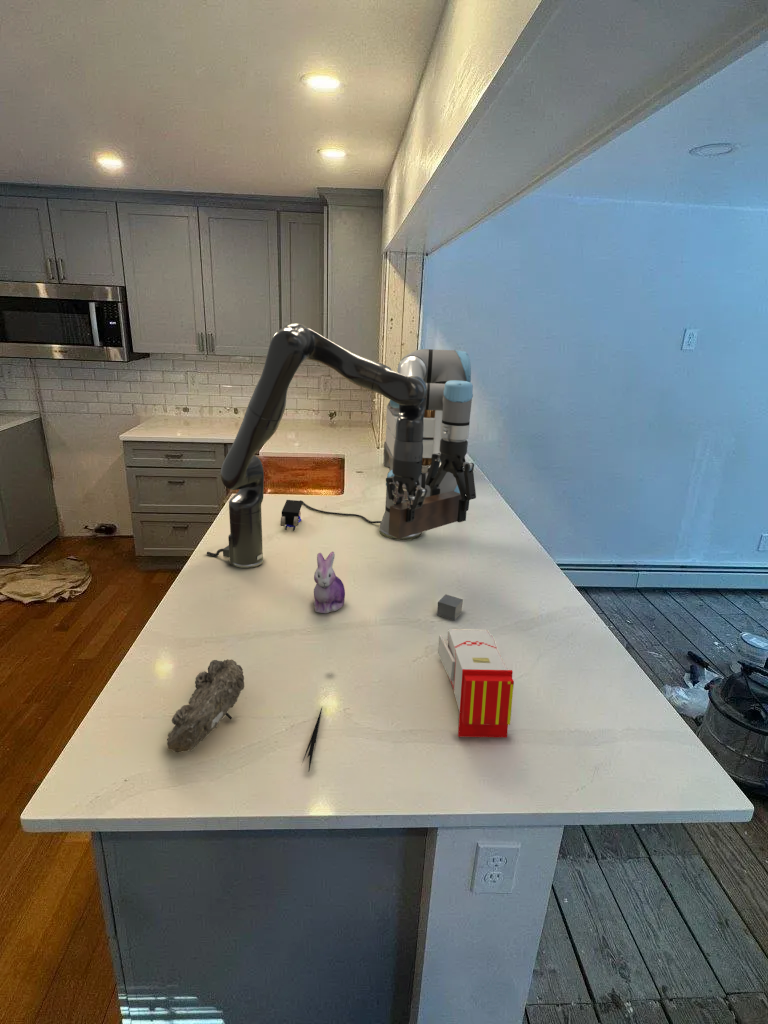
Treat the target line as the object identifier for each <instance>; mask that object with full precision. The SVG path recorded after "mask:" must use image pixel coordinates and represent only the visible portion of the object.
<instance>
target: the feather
mask: <svg viewBox="0 0 768 1024" xmlns="http://www.w3.org/2000/svg"><path fill="white" fill-rule="evenodd" d="M329 675H330V676H331V675H332V674H331V673H330V674H329ZM322 710H323V707H321V708H320V710H319V713H318V716H317V719H316V723H315V725H314V728H313V731H312V733H311V737H310V739H309V742H308V745H307V748H306V751H305V754H304V757H303V760H302V763H301V767H302V765H303V763H304V761H305V758H308V759H309V760H308V762H307V763H308V764H307V766H308V771H310V770H311V766H312V765H311V764H312V760H313V757H315V756H314V755H315V751H316V749H315V746H317V739H318V733H319V729H320V722H321V717H322V712H323V711H322ZM313 754H314V755H313ZM306 755H307V757H306Z"/></svg>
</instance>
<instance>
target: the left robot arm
mask: <svg viewBox="0 0 768 1024" xmlns="http://www.w3.org/2000/svg"><path fill="white" fill-rule="evenodd" d="M267 349H268V350H267V353H266V357H265V362H264V366H263V369H262V372H261V375H260V377H259V380H258V382H257V384H256V386H255V388H254V391H253V393H252V395H251V397H250V399H249V402H248V404H247V408H246V410H245V413H244V416H243V418H242V422H241V424H240V426H239V429H238V431H237V434H236V436H235V439H234V440H233V442H232V445H231V446H230V449H229V450H228V452H227V454H226V456H225V458H224V459H223V462H222V464H221V469H220V480H221V482H222V484H223V486H224V487H225V488H227V490H232V491H237V492H236V493H235V495H234V496H231V498H230V499H229V501H228V512H229V513H228V514H229V516H228V517H229V532H230V533H229V534H228V536H227V537H228V538H227V539H228V545H227V546H225V547H223V548H220V549H218V550H216V552H215V553H213V552H210V551H207V552H206V555H208V556H211V557H218V556H219V555H220V553H222V557H225V558H229V566H234V567H235V568H239V569H251V568H256V567H259V566H260V565H262V564H263V562H264V552H263V551H264V549H263V548H264V547H263V523H262V522H263V521H262V503H263V501H264V491H265V489H264V488H265V487H264V486H265V485H264V484H265V472H264V471H265V470H264V466H263V462H262V461H261V460H260V458H259V457H258V456H257V455H255V454H256V453H257V452H258V451H259V450H260V449H262V447H264V446H265V444H266V443H267V442H268V441H270V439H271V438H272V437H273V436H274V434H275V433H276V431H277V430H278V427H279V425H280V423H281V421H282V419H283V416H284V413H285V410H286V407H287V406H286V405H287V395H288V390H289V387H290V385H291V382H292V380H293V379H294V377H295V374H296V373H297V371H298V369H299V368H300V366H301V365H302V364H303V363H304V362H306V360H309V361H313V362H317V363H321V364H322V365H325V366H327V367H328V368H330V369H332V370H334V371H335V372H336V373H338V374H339V375H340V376H341V377H343V378H344V379H346V380H347V381H348V382H350V383H351V384H354V385H356V386H358V387H361V388H362V389H366V390H369V391H370V392H373V393H376V394H380V395H381V396H383V397H384V398H386V399H388V400H389V401H390V400H392V401H394V402H396V403H398V404H399V415H398V418H397V422H396V434H395V443H394V451H393V469H392V472H393V474H394V476H393V477H388V478H387V477H386V478H385V485H386V484H387V486H386V487H387V490H388V496H389V499H390V500H391V499H392V500H393V503H394V505H396V504H400V503H401V502H402V501H403V498H405V501H406V502H407V513H406V522H408V523H410V522H413V521H414V519H415V509H417V508H421V507H422V505H423V502H424V499H425V497H426V494H427V489H426V488H422V487H421V486H420V483H419V477H420V475H421V473H423V472H422V471H423V466H422V458H423V431H424V412H425V406H426V398H427V386H426V383H425V382H424V380H423V379H422V378H420V377H418V376H409V377H408V376H405V375H402V374H400V373H398V372H397V371H395V370H393V369H392V368H391V367H390V366H388V365H386V364H384V363H382V362H378V361H376V360H374V359H371V358H369V357H366V356H364V355H361V354H359V353H356V352H354V351H352V350H350V349H347V348H345V347H344V346H341V345H339V344H338V343H336V342H334V341H332V340H330V339H328V338H327V337H325V336H323V335H322V334H320V333H318V332H317V331H315V330H314V329H312V328H310V327H309V326H306V325H305V324H302V323H300V322H291V323H288V324H286V325H285V326H283V327H281V328H280V329H279V330H277V331H276V332H275V333H274V334H273V336H272V337H271V339H270V342H269V346H268V348H267ZM392 490H393V492H394V494H393V495H392ZM410 495H412V497H409V496H410ZM411 500H412V504H411Z"/></svg>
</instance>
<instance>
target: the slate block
mask: <svg viewBox="0 0 768 1024" xmlns="http://www.w3.org/2000/svg"><path fill="white" fill-rule="evenodd" d="M463 603H464V599H463V598H460V597H456V596H453V595H449V594H447V593H446V594H444V595H443V596H442V597H441V598H440V599H439V600H438V601H437V610H436V616H438V617H442V618H444V619H447V620H450V621H456V620H457V619H458V617H460V615H461V614H462V613H463Z"/></svg>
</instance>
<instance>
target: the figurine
mask: <svg viewBox="0 0 768 1024" xmlns="http://www.w3.org/2000/svg"><path fill="white" fill-rule="evenodd" d="M335 554H336V553H335V552H334V551H331V552H330V553H329V554H328V555H327V556H326V558H325V557H324V555H323V554H322V553H321V552H318V553H317V555H316V563H317V565H316V566H317V568H316V569H315V571H314V575H313V580H314V582H315V585H314V588H313V598H314V601H313V606H314V612H316V613H322V614H329V613H332V612H336V611H338V610H340V609H341V608H342V607H344V604H345V598H346V589H345V585H344V583H343V581H342V580H341V578H340V577H339V576H336V572H335V569H334V568H333V564H334V561H335Z"/></svg>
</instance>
